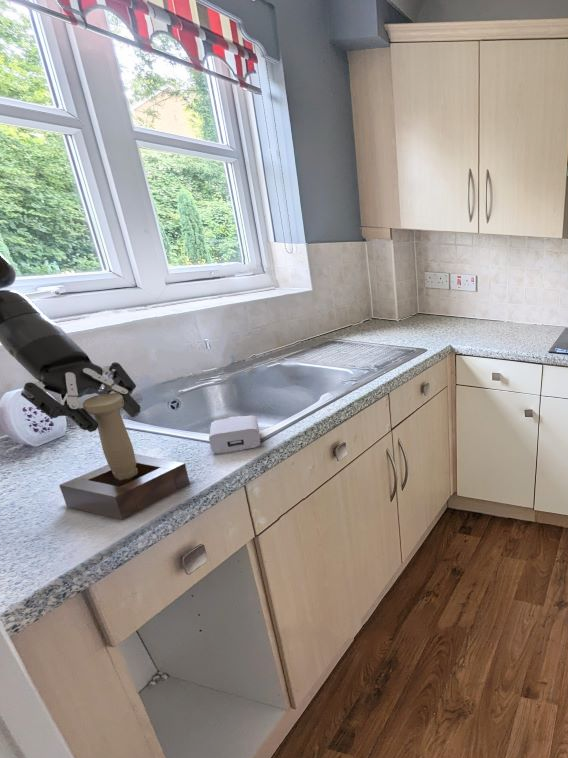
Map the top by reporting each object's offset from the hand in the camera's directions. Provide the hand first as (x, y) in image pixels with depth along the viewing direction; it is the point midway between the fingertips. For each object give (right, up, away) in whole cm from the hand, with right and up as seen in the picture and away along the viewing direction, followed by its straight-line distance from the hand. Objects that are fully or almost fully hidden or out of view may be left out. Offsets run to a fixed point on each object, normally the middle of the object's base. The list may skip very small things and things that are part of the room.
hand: (116, 420), depth 78 cm
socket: (-2, -14, +6) cm, 15 cm away
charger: (+2, -6, +29) cm, 30 cm away
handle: (-2, -11, +4) cm, 12 cm away
